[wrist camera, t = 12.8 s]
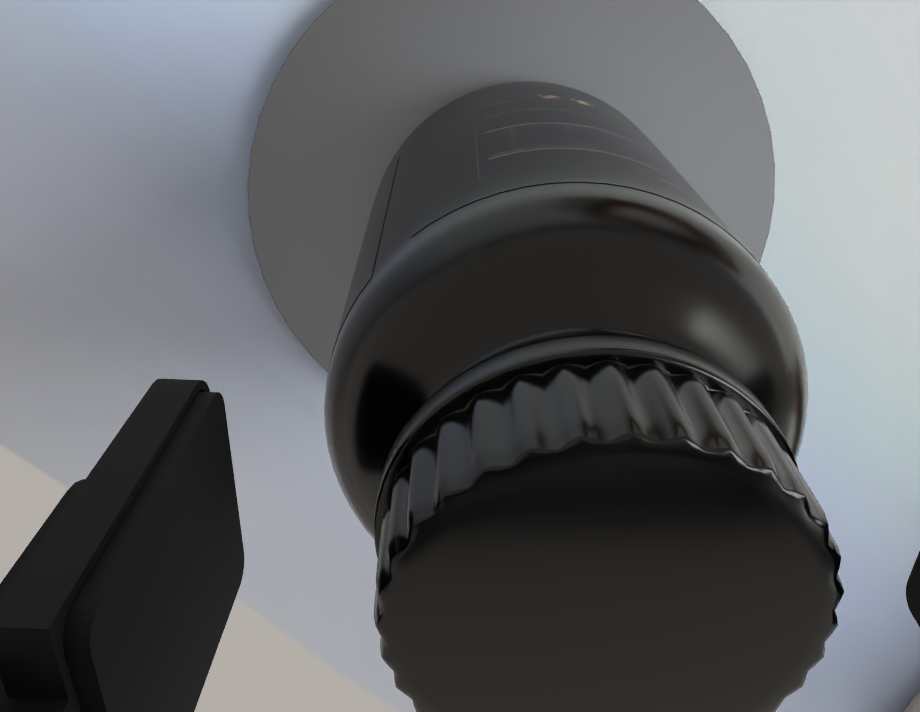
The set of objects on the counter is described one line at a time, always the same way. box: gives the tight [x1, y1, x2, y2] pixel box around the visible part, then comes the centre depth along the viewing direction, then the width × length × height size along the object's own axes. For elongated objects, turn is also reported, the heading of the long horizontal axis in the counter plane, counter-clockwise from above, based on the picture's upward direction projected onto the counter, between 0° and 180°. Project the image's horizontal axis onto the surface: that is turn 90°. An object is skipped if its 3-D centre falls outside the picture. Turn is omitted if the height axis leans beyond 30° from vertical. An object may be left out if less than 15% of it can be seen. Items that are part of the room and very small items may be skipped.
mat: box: [248, 0, 775, 371], centre depth 19 cm, size 12×12×1 cm
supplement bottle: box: [324, 81, 844, 712], centre depth 13 cm, size 7×7×12 cm
